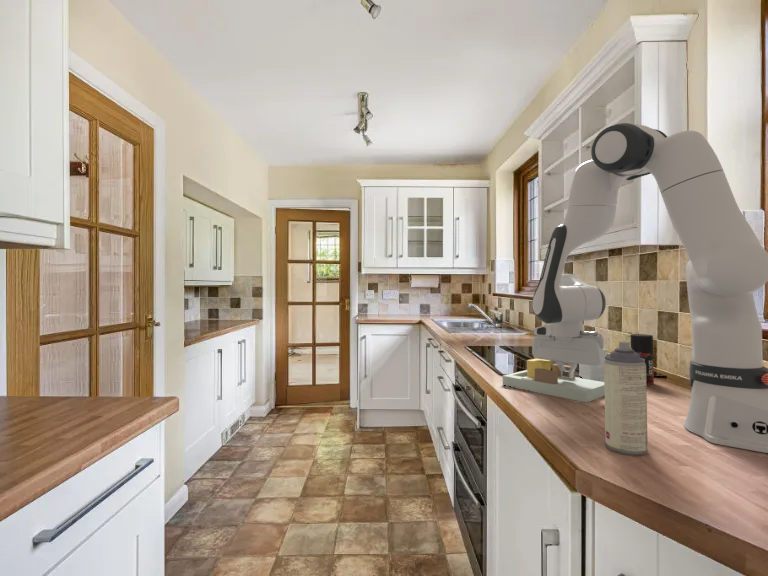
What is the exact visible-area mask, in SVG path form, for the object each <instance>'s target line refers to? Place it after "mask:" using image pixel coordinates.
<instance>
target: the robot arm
mask: <svg viewBox="0 0 768 576" xmlns="http://www.w3.org/2000/svg"><path fill="white" fill-rule="evenodd" d="M590 154H591V155H590V156H591V159H590V160H587V161H585V162H583V163H581V164H580V165H579V166H578V167H577V168H576V169H575V172H574V173H573V174H574V175H573V178H572V182H571V185H570V186H571V187H570V190H569V195H568V196H569V197H568V205H567V210H566V211H567V212H566V213H565V216H564V219H563V220H562V222H561V223H560V225H558V226H556V227H555V228H554V230H553V232H552V234H551V236H550V240H549V243H548V246H547V250H546V253H545V258H544V262H543V265H542V269H541V274H540V277H539V280H538V284H537V287H536V289H535V290H534V293H533V296H532V300H531V309H532V313H533V314H534V315H535V317H536V318H538V320H540V321H541V322H543V323H545V324H544V325H541V326H537V327H535V328H534V329H533V334H534V335H535V336H534V337H533V338H532V344H531V345H532V346H531V348H532V349H531V350H532V351H531V353H532V356H533V358H534V359H543V360H551V362H552V361H553V362H556V364H557V366H558V368H559V369H560V371H561V377H566V378H573V377H574V371H576V369H577V367H578V365H579V364H584V365H592V366H600V365H603V364H604V361H605V355H604V349H605V348H604V345H605V343H604V342H605V341H604V336H603V335H602V334H601V333H599V332H598V331H587V330H584V329H583V328H584V325H583V323H584V322H585V321H594V320H598V319H600V318H601V317H602V315H603V314H604V312H605V310H606V306H607V303H606V297H605V294H604V292H603V291H602V290H601V289H600V288H599V287H597V285H596V286H595V285H590V284H588V283H586V282H584V281H583V280H581V278H580V276H579V275H578V274H575V273H563V272H564V269H565V265H566V261H567V258H568V257H569V255H570V254H571V253H572V252H573V251H575V250H576V249H577V248H579V247H581V246H582V245H585V244H587V243H591V242H593V241H596V240H597V239H599V238H601V237H603V236H604V235H606V234H607V233H608V231H609V230H611V228H612V227H613V225H614V222H615V220H616V212H617V203H618V193H619V189H620V186H621V185H622V183H623V182H624V181H625V180H626V181H632V180H635V179H638V178H642V177H644V176H648V175H650V174H651V175H652V176H653V177H654V179H655V181H656V184H657V185H658V189H659V192H660V194H661V197H662V201H663V203H664V205H665V208H666V211H667V214H668V217H669V219H670V222H671V225H672V228H673V229H674V230H675V232H676V234H677V235H678V237H679V239H680V241H681V243H682V245H683V247H684V249H685V252H686V253H687V255H688V258H689V260H688V262H687V264H686V268H685V269H686V270H685V277H686V288H687V290H686V291H687V299H688V308H689V315H690V321H691V352H692V353H691V356H692V357H691V359H692V360H691V361H689V367H688V370H689V371H688V373H689V375H688V377H689V385H690V388H691V392H690V393H691V394H690V401H689V402H690V403H689V407H688V411H687V415H686V419H685V421H684V423H683V426H684V428H685V429H686V430H687V431H690V432H691V433H693V434H696V435H697V436H701V437H702V438H703V439H705V440H706V441H707V442H709V443H712V444H716V445H721V446H727V447H732V448H737V449H743V450H749V451H754V452H759V453H764V454H768V368H767V367H765V366H764V365H763V363H764V361H763V327H762V324H761V322H760V319H759V315H758V312H757V308H756V301H755V297H754V293H755V292H757V291H758V290H759V289H761V288H762V287H764V286H765V284H766V283H767V282H768V251H767V250H766V249H764V247H763V246H762V244H761V242H760V241H759V239H758V237H757V235H756V234H755V232H754V230H753V229H752V227H751V225H750V224H749V222H748V220H747V219H746V218H745V217H744V215H743V212H741V209H740V208H739V206H738V203H737V202H736V198H735V196H734V193H733V191H732V188H731V187H730V183H729V180H728V179H727V176H726V173H725V171H724V168H723V167H722V164H721V162H720V160H719V158H718V155H717V154H716V152H715V150H714V149H713V147H712V146H711V144H710V142H709V141H708V140H707V138H706V137H705V135H703V134H702V133H701V132H699V131H695V130H684V131H679V132H675V133H673V134H671V135H669V136H667V135H666V133H664V132H663V131H661V130H659V129H655V128H651V127H649V126H647V125H644V124H638V123H637V124H636V123H634V124H633V123H628V122H622V123H620V122H619V123H616V124H613V125H610V126H607V127H605V128H604V129H602V131H600V132H599V133H598V134H597V136H596V137H595V139H594V140H593V142H592V145H591V150H590ZM566 363H568V366H570V367H571V368H570V370H569V371H566V369H565V367H564V365H566Z"/></svg>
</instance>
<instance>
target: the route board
mask: <svg viewBox="0 0 768 576" xmlns="http://www.w3.org/2000/svg"><path fill="white" fill-rule="evenodd" d="M564 367H565V369H566V371H569V370H570V368H571V367H570V366H569V365H568V364H567V365H566V364H564ZM551 368H552V369H551V370H548V369H541V368H537V369H535V378H533V377H527V369H525V370H521V371H517V372H514V373H507V374H505V375H502V386H504V385H507V386H506V387H509V386H511V387H510V388H513V387H516V388H515V389H518V388H520V389H519V390H523V389H525V390H524V391H528V390H529V391H528V392H533V393H537V394H542V393H543V394H544V395H548V396H551V397H552V396H553V397H557V398H562V399H568V400H573V401H578V402H582V403H587V404H588V403H589V402H591V401H592V402H593V401H594V400H597V399H600V398H602V397H605V387H604V382H601V381H594V380H588V379H582V378H580V377H577V376H576V372H575V371H576V370H575V371H574V377H573V378H566V377H561V371H560V369H559V368H558V366H557V363H553V364H551Z"/></svg>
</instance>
